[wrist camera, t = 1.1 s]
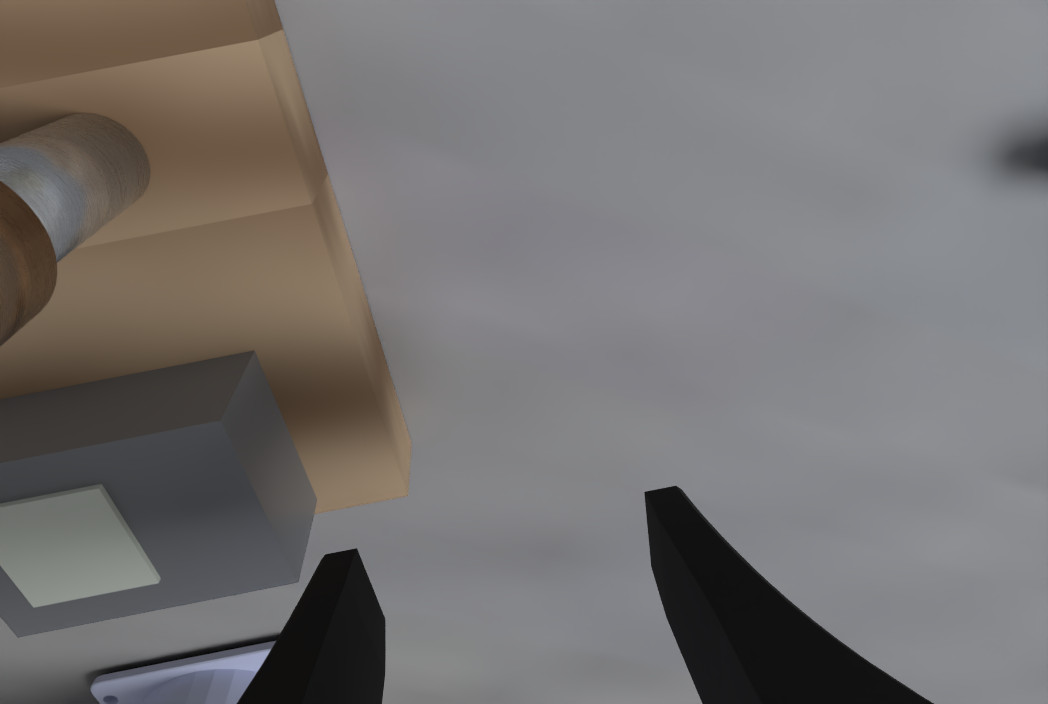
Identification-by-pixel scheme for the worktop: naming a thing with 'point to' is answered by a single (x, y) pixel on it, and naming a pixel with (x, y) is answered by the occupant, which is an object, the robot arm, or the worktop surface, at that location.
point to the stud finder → (147, 494)
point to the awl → (59, 203)
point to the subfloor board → (206, 227)
